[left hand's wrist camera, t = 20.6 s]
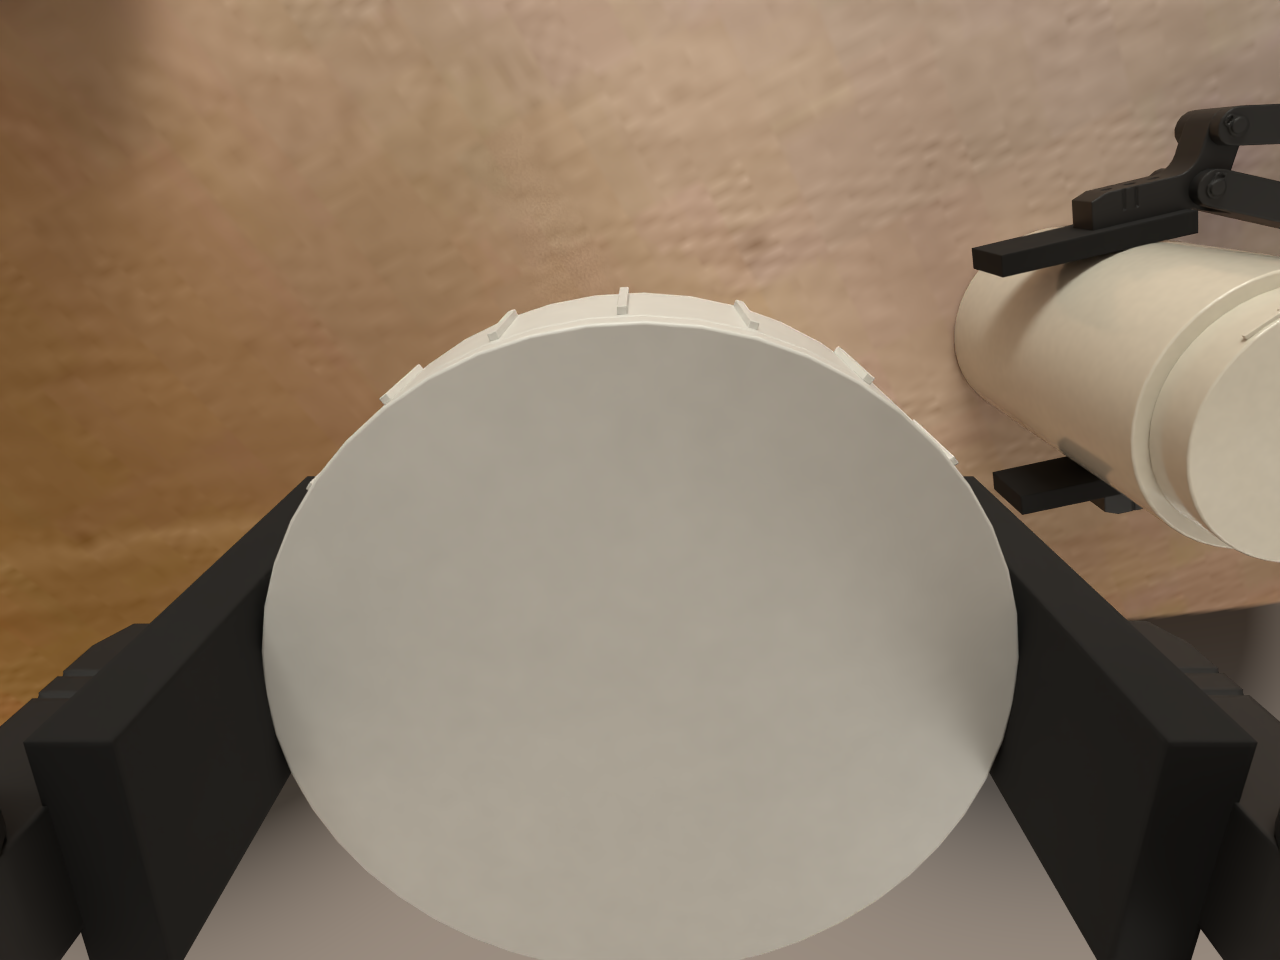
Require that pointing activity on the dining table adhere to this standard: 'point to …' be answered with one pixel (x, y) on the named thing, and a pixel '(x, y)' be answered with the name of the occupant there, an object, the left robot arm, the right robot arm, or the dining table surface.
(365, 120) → the dining table surface
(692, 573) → the lid
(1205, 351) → the jar
